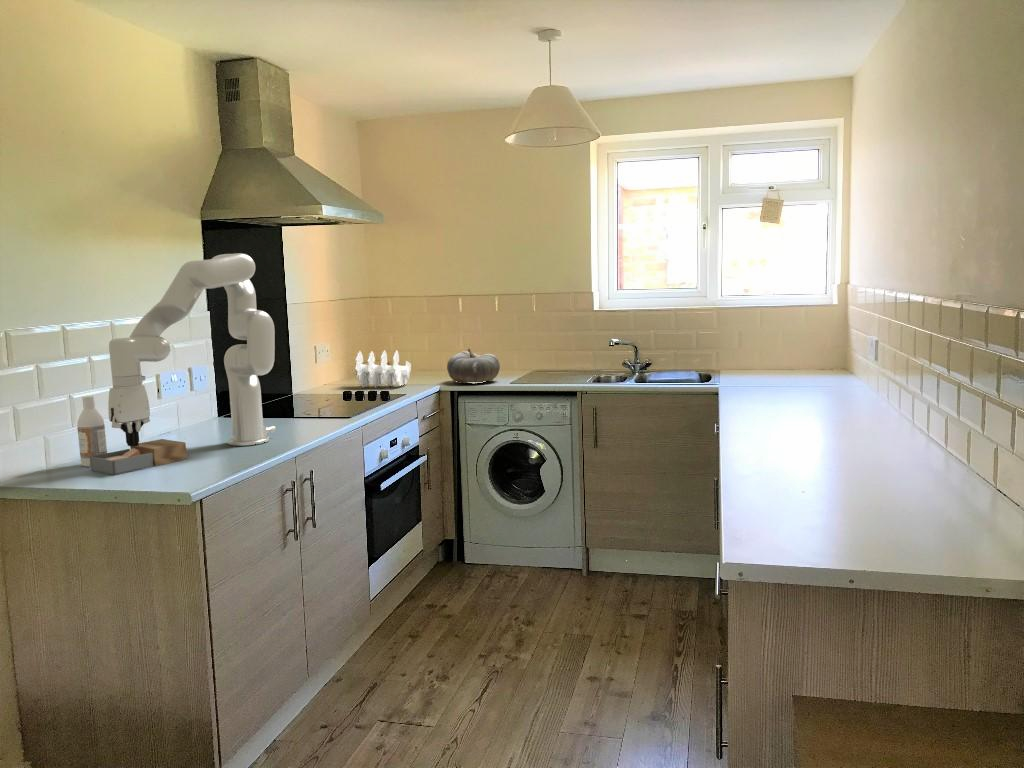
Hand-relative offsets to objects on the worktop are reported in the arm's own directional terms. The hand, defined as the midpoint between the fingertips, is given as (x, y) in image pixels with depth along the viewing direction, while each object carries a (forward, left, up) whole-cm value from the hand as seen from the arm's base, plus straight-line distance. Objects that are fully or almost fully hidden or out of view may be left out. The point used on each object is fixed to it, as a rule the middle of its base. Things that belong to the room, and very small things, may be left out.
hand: (133, 445), depth 228 cm
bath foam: (+5, -13, -6) cm, 15 cm away
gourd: (-186, -19, -6) cm, 187 cm away
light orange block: (+5, 0, -3) cm, 6 cm away
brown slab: (-8, 0, -6) cm, 10 cm away
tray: (+4, 0, -6) cm, 7 cm away
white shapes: (-156, -51, -6) cm, 164 cm away
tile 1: (0, +1, -5) cm, 5 cm away
